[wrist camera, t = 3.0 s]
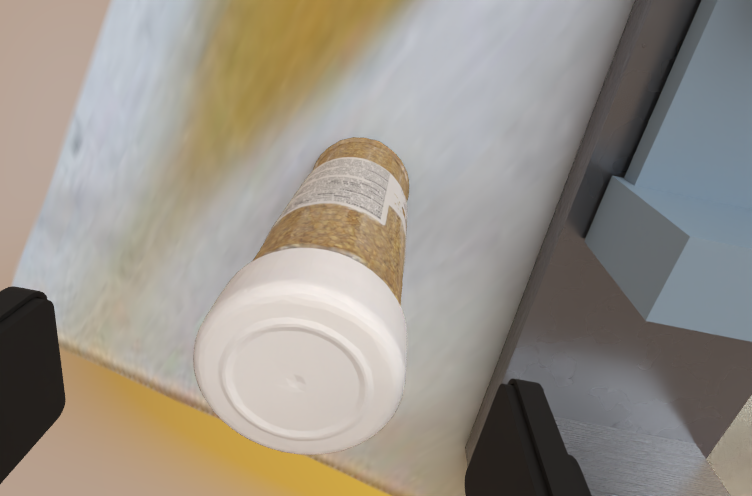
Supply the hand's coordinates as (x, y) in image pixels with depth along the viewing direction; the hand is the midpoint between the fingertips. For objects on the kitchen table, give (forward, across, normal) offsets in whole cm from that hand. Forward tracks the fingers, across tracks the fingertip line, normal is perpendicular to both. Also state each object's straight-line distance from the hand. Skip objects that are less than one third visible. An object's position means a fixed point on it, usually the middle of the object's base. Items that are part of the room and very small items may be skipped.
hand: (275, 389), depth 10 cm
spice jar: (+14, -1, 0) cm, 14 cm away
